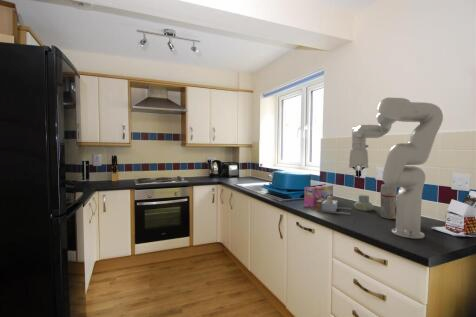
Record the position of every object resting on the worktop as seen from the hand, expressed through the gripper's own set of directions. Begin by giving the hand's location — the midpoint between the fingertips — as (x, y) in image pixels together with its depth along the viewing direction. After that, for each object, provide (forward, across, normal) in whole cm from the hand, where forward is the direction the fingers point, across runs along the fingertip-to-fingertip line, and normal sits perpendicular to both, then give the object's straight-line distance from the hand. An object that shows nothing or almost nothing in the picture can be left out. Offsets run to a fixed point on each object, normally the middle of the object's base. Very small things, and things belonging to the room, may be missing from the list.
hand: (358, 177), depth 154 cm
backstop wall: (+22, +22, +2) cm, 31 cm away
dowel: (+21, +16, +6) cm, 27 cm away
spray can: (+23, -16, 0) cm, 28 cm away
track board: (+22, +13, +2) cm, 26 cm away
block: (+21, +16, +2) cm, 26 cm away
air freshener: (+22, -3, -11) cm, 25 cm away
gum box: (+22, +25, -12) cm, 35 cm away
